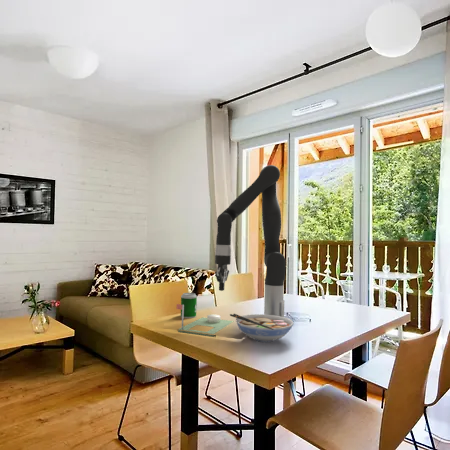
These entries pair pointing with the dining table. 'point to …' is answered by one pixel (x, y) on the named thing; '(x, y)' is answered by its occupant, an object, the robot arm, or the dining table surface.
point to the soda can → (189, 305)
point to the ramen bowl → (263, 326)
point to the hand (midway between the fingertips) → (221, 290)
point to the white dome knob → (213, 318)
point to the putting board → (202, 322)
